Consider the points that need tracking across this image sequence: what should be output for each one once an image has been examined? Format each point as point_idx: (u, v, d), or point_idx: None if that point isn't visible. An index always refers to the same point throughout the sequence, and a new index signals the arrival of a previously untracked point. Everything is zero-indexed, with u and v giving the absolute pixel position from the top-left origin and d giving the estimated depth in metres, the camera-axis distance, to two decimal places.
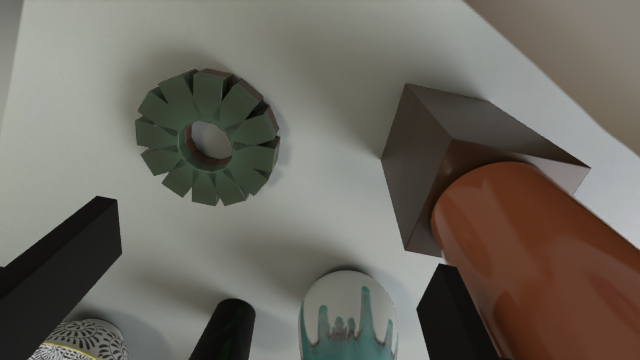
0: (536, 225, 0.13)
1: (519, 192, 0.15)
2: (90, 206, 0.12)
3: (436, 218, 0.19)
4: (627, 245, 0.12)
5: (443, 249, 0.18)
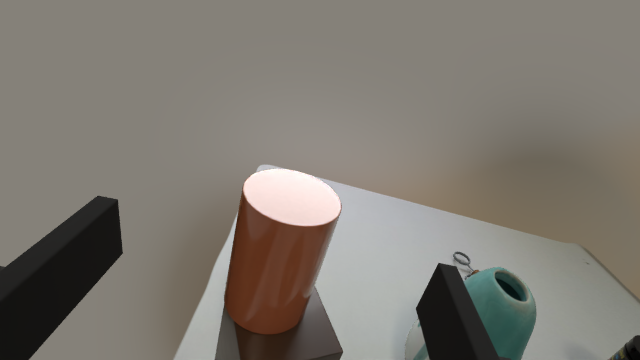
0: (238, 268, 0.24)
1: (231, 285, 0.25)
2: (91, 206, 0.12)
3: (271, 328, 0.25)
4: None
5: (287, 313, 0.25)
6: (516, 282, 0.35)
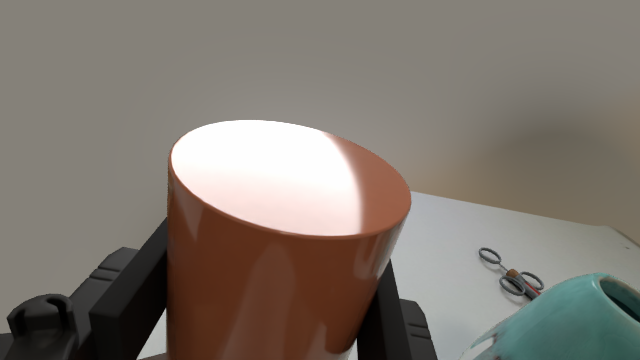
0: (173, 339, 0.10)
1: None
2: None
3: None
4: None
5: None
6: (630, 295, 0.21)
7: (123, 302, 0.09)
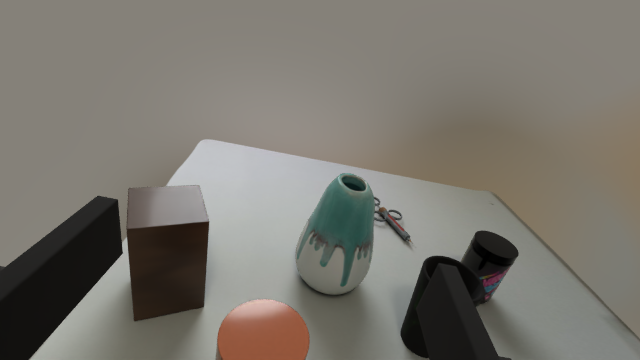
0: None
1: None
2: (91, 206, 0.12)
3: None
4: None
5: None
6: (362, 183, 0.46)
7: None
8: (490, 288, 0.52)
